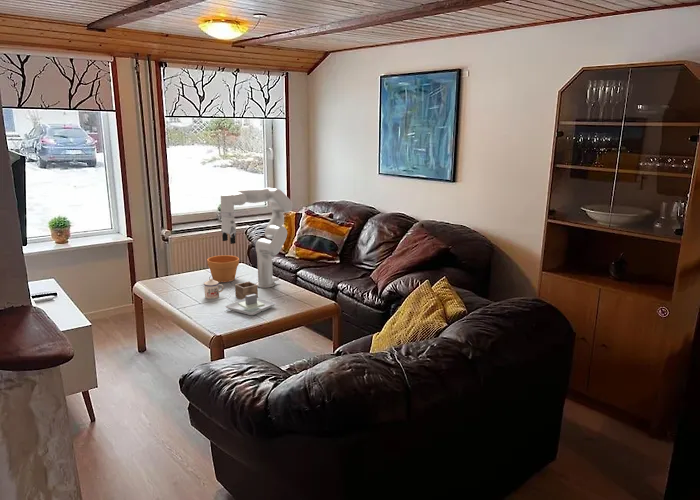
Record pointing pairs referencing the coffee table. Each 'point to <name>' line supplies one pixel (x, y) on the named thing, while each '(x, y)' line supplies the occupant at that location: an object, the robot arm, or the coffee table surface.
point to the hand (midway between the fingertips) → (229, 242)
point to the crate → (245, 289)
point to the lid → (251, 302)
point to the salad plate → (254, 311)
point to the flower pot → (223, 267)
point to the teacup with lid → (212, 289)
